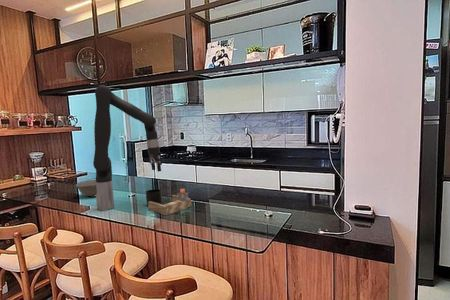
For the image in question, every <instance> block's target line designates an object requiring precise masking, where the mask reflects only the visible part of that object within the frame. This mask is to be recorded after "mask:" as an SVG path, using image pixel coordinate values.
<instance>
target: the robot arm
mask: <svg viewBox="0 0 450 300" xmlns="http://www.w3.org/2000/svg"><path fill="white" fill-rule="evenodd" d="M94 96H95V103H96V106H95V108H96V109H95V110H96V111H95V117H94V126H93V127H94V131H93V132H94V135H93V136H94V155H93V161H92V162H93V163H92V164H93V168H94V169H95V180H96V187H97V194H96V196H95V198H96V199H95V200H96V209H97V210H98V209H99V211H101V210H103V211H108V209H109V210H111V208H112V209H114V208H115V198H114V187H113V169H112V168H113V167H112V160H111V158H110V156H109V145H110V141H111V134H112V119H111V112H110V110H111V106H113V107H115V108H117V109H118V110H119V111H121V112H123V113H124V114H126V115H128V116H129V117H131V118H133V119H135V120H137V121H139V122H141V123H142V124H143V125H144V129H145V136H146V147H147V153H148V162H149V163H148V164H150V166H151V170H152V171H155V170H156V169H157V172H161V171H162V165H163V161H162V156H161V155H160V153H161V150H160V142H159V138H158V132H157V130H156V123H157V120H156V117H155V116H153V115H151V114H150V113H149V112H148V113H147V112H145V111H144V110H143V109H141V108H139V107H138V106H136V105H134V104H133V103H131V102H128V101H126V100H124V99H123V98H120V97H119V96H117V95H116V94H115V92H114V93H113V91H112V90H111V88H110V87H109V86H107V85H105V84H101V85H98V86H97V87H96V88H95V90H94ZM113 207H114V208H113Z"/></svg>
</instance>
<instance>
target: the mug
mask: <svg viewBox="0 0 450 300" xmlns="http://www.w3.org/2000/svg"><path fill="white" fill-rule="evenodd" d="M145 196H146V199H145V200H146V206H147V207H148V202H149V201H151V202H155V203H159V204H162V205H163V199H162V198H163V197H162V190H161V189H160V188H154V189H148V190H145Z"/></svg>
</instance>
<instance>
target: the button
mask: <svg viewBox="0 0 450 300" xmlns="http://www.w3.org/2000/svg"><path fill="white" fill-rule="evenodd" d="M179 191H180V192H179V193H180V194H185V193H186V188H180V189H179Z"/></svg>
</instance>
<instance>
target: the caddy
mask: <svg viewBox="0 0 450 300" xmlns="http://www.w3.org/2000/svg"><path fill="white" fill-rule="evenodd" d="M147 207H148V208H147V209H148V211H150V210H151V212H153V213H158V214H161V215H164V216H167V215H170V214H174V213H176V212H179V211H182V210H186V209H188V207H189V208H191V207H192V199H191V198H190V197H189V193H188V192H185V194H180V192H179V193H177V194H171V202H168V203H165V204H163V203H162V204H159V203H155V202H151V201H149V202H148V206H147Z"/></svg>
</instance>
